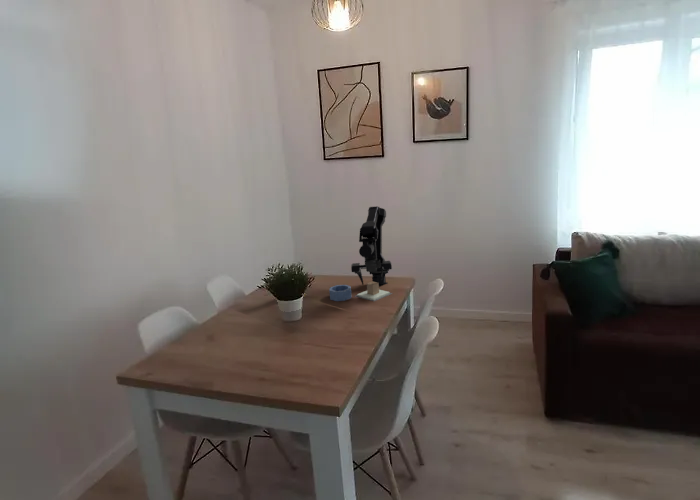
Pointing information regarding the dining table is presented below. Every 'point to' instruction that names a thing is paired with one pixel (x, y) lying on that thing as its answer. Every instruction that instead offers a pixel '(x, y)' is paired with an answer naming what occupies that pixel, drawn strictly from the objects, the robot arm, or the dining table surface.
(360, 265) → the robot arm
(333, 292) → the bowl
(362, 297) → the mat
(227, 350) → the dining table surface
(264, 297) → the dining table surface
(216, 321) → the dining table surface
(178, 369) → the dining table surface
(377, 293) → the lid
